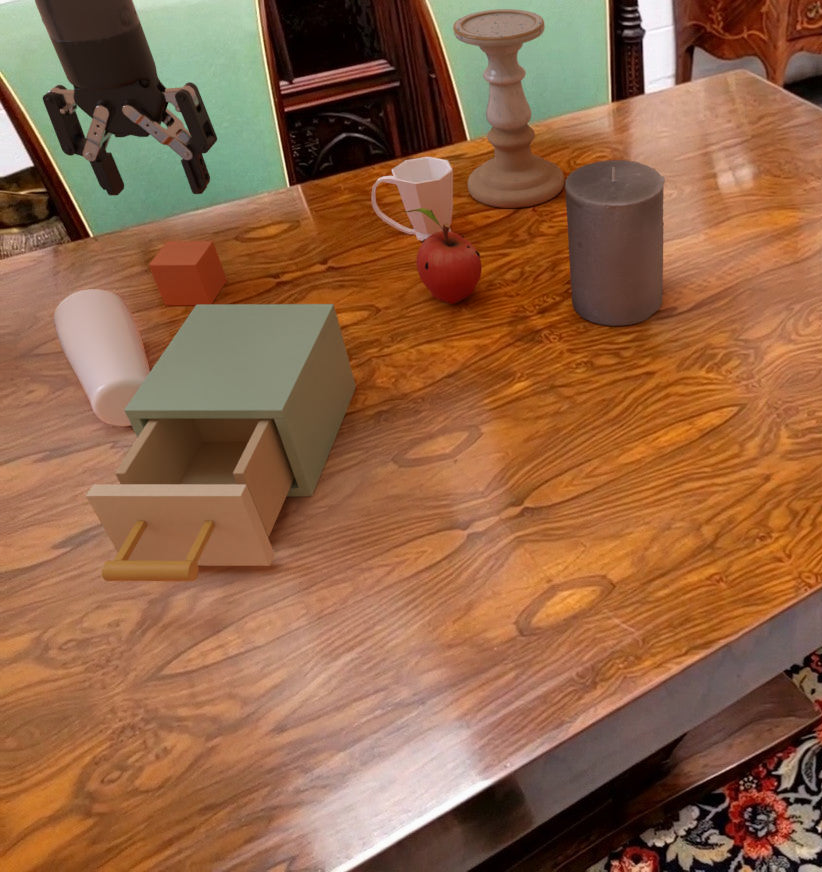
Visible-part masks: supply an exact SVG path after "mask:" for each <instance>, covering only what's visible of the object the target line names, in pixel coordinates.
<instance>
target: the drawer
mask: <svg viewBox="0 0 822 872" xmlns="http://www.w3.org/2000/svg"><path fill="white" fill-rule="evenodd" d="M114 475H115V476H116V478H117V481H118V482H119V483H117V484H116V483H115V484H113V483H106V484H105V483H103V484H102V483H100V484H97V483H96V484H95V483H93V484H92V485H91V487H90V488H89V489H88V492H87V493H86V494H85V498H86V500H87V501H88V503H89V504H90V506H91V508H92V510H93V512H94V514H95V515H96V517H97V518H98V521H99V522H100V524H101V526H102V528H103V529H104V531H105V533H106V534H107V537H108V538H109V540H110V542H111V543H112V545H113V547H114V549H115V550H116V552H117V554H116V555H115V557H114V559H113V560H112V559H111V560H106V561H104V563H103V565H102V568H101V577H102V579H103V580H104V581H106V582H194V581H196V579H198V575H199V566H220V567H221V566H222V567H223V566H226V567H227V566H228V567H229V566H231V567H232V566H234V567H235V566H238V567H239V566H241V567H242V566H243V567H244V566H245V567H246V566H247V567H249V566H251V567H252V566H253V567H254V566H256V567H258V566H259V567H260V566H262V567H263V566H265V567H269V566H271V564H272V561H273V559H274V557H275V552H274V549H273V547H272V544H271V542H270V539H269V537H270V535H271V533H272V530H273V528H274V525H275V523H276V521H277V519H278V516H279V514H280V513H281V510H282V508H283V505H284V503H285V500H286V498H287V497H288V496H287V494H288V491H289V489H290V487H291V484H292V482H293V480H294V477H295V476H294V473H293V471H292V468H291V465H290V462H289V459H288V457H287V454H286V451H285V448H284V445H283V442H282V440H281V437H280V434H279V431H278V428H277V426H276V423H275V420H274V419H149V421H148V422H147V424H146V426H145V427H144V429H143V430H142V432H141V433H140V435H139V436H138V438H137V437H136V440H135V441H134V442H133V444H132V446H131V447H130V449H129V450H128V452H127V453H126V455H125V456H124V458H123V460H122V461H121V463H120V464H119V465H118V467H117V469H116V470H115V472H114Z"/></svg>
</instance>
